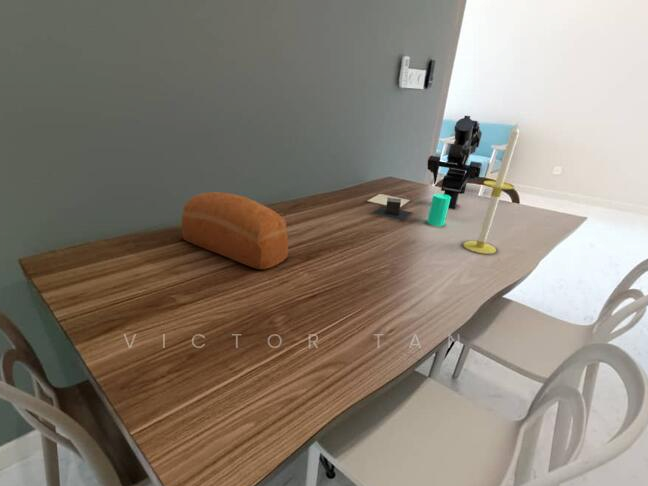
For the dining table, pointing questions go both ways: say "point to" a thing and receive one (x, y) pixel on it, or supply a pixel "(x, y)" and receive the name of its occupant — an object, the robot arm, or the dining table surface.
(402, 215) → the charcoal mat
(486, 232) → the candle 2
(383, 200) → the cream pad
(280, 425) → the dining table surface
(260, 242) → the bread
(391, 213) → the charcoal block
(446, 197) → the candle
